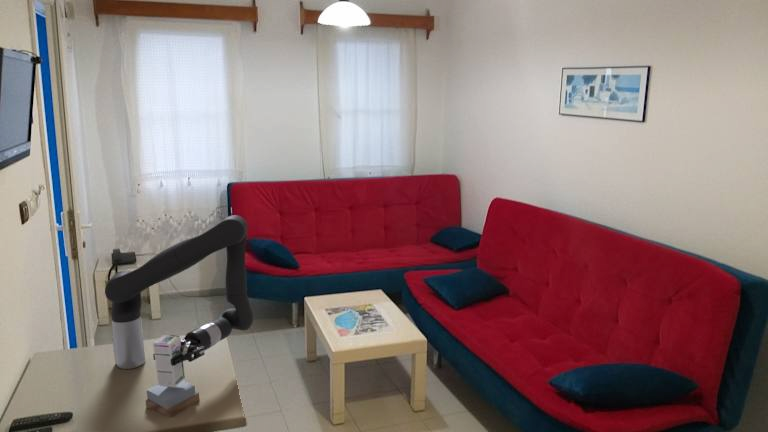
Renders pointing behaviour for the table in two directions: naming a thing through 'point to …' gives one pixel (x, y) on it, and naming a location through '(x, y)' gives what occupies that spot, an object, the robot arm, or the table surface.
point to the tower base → (174, 409)
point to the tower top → (170, 394)
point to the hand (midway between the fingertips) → (163, 360)
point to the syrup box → (168, 360)
